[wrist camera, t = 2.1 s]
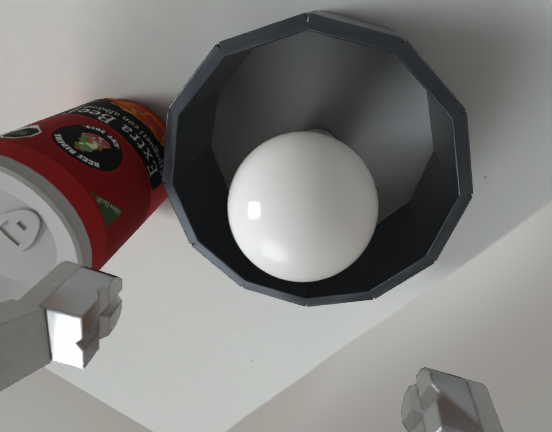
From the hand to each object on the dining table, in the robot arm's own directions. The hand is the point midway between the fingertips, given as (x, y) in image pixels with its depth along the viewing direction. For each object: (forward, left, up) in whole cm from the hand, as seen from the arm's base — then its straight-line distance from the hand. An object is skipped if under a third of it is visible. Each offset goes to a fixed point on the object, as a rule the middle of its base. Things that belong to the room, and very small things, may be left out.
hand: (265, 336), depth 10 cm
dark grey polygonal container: (0, 0, -15) cm, 15 cm away
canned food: (+12, +4, -15) cm, 20 cm away
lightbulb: (0, 0, -15) cm, 15 cm away
